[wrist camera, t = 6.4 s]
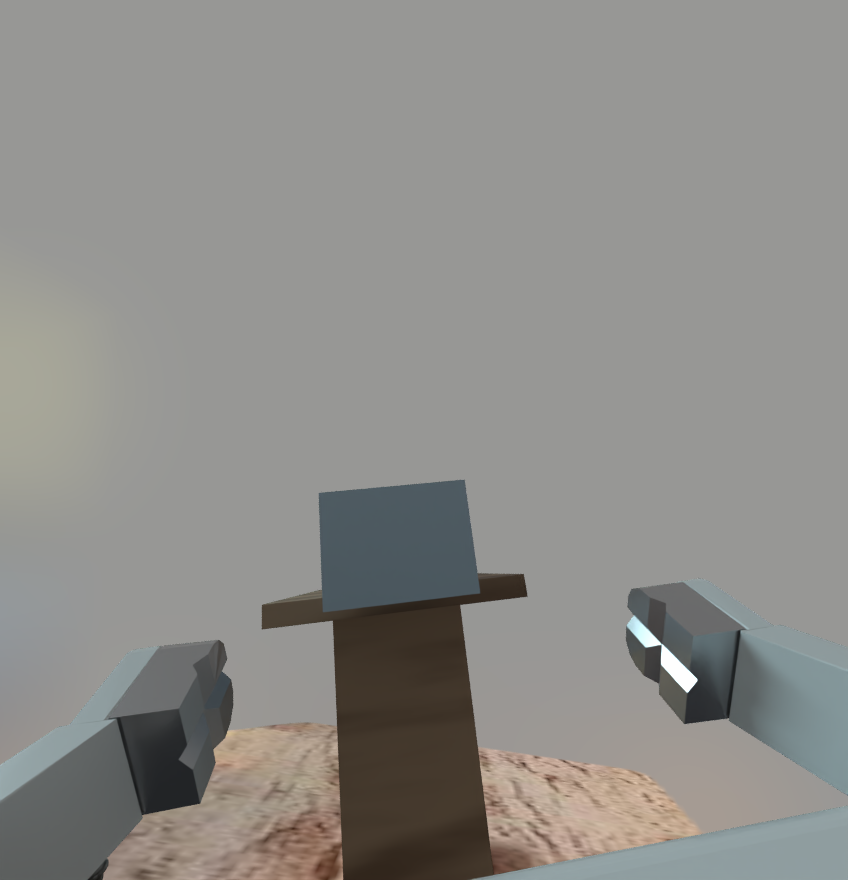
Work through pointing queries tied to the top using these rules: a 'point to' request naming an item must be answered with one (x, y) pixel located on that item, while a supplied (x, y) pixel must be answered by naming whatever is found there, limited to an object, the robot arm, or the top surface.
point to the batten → (396, 545)
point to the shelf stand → (406, 734)
